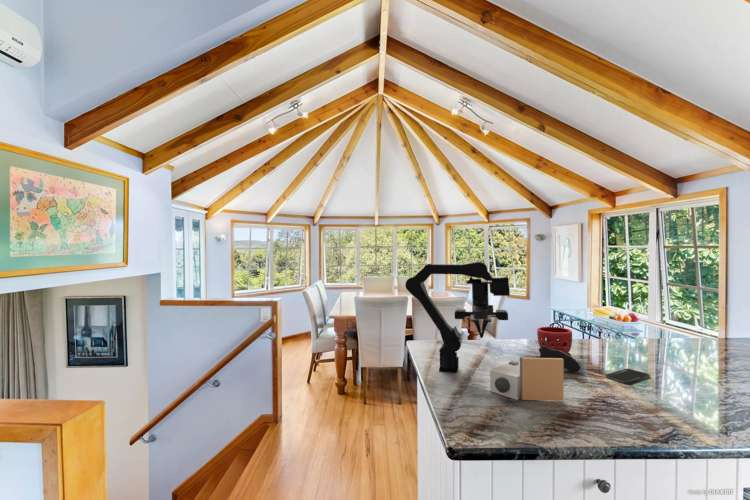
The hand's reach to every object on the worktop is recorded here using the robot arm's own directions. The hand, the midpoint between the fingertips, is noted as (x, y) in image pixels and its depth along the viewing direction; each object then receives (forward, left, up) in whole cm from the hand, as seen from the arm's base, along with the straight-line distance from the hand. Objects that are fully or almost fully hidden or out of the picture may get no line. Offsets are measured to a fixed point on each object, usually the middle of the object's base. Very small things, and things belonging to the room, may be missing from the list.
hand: (481, 337), depth 132 cm
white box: (+10, -13, -13) cm, 21 cm away
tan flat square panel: (+18, -19, -12) cm, 29 cm away
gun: (+28, +10, -13) cm, 33 cm away
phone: (+50, +10, -14) cm, 53 cm away
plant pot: (+29, +27, -13) cm, 42 cm away
